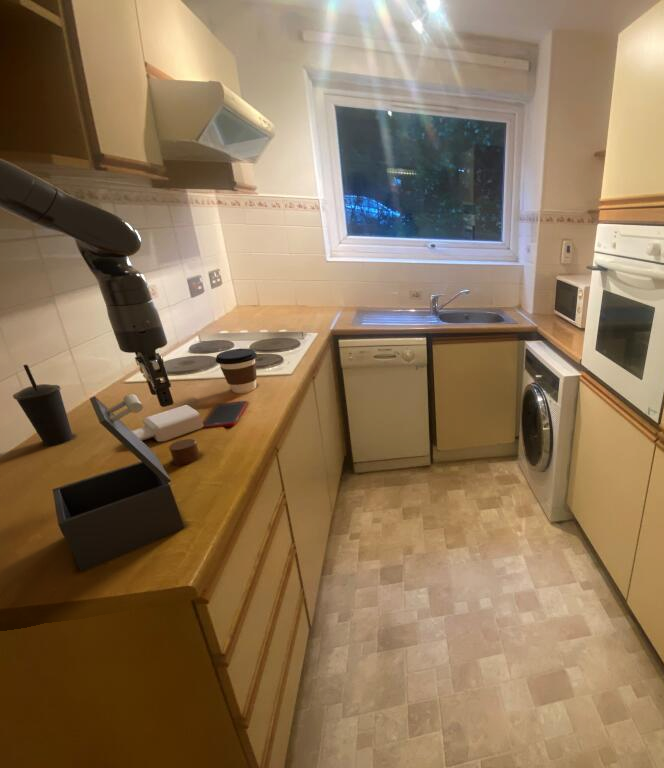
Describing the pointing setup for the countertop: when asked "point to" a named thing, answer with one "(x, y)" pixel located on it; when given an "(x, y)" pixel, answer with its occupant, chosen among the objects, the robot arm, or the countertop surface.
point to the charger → (170, 424)
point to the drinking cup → (45, 411)
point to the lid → (128, 431)
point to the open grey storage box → (115, 513)
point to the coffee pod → (184, 451)
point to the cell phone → (225, 414)
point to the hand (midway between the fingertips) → (162, 399)
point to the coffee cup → (239, 369)
